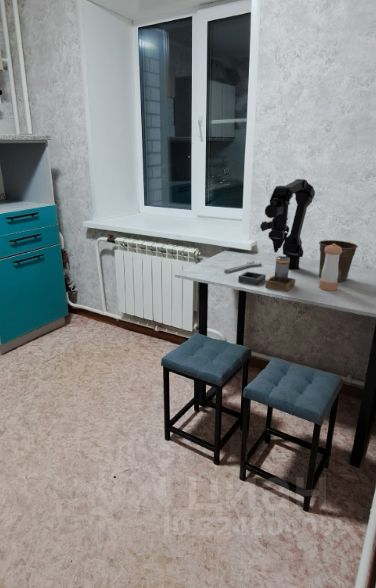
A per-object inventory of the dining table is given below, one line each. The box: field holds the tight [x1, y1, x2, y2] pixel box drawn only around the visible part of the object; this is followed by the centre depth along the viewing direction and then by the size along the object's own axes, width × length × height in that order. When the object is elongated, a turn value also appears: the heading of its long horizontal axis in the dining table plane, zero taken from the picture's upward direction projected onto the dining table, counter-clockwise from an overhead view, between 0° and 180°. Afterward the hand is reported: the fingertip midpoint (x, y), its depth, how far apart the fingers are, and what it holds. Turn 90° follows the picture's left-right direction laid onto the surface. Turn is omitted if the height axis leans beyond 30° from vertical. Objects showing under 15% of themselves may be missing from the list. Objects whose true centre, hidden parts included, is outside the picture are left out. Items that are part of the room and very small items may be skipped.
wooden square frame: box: [264, 274, 296, 292], centre depth 169 cm, size 10×10×3 cm
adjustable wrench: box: [223, 260, 262, 274], centre depth 196 cm, size 25×6×2 cm, turn 128°
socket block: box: [238, 271, 267, 286], centre depth 176 cm, size 9×9×2 cm
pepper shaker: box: [318, 244, 342, 292], centre depth 166 cm, size 7×7×19 cm
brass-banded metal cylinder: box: [274, 255, 290, 284], centre depth 168 cm, size 6×6×12 cm
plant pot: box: [318, 239, 359, 283], centre depth 180 cm, size 16×16×16 cm
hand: (277, 250), depth 181 cm, fingers open, 9 cm apart
